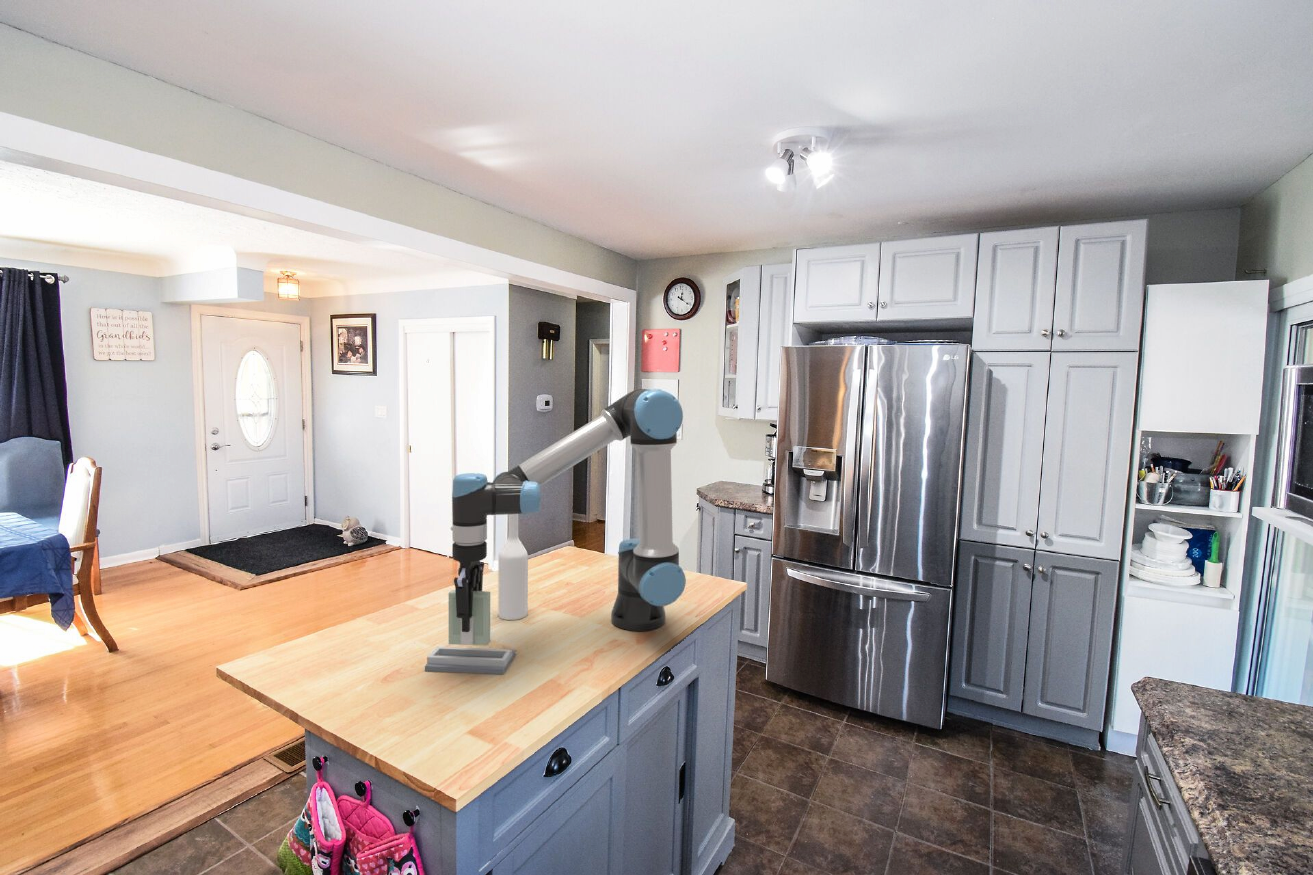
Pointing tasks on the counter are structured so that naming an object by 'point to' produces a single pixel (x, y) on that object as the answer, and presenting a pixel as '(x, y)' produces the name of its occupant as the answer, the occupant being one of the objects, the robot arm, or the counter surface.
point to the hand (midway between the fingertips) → (469, 640)
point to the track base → (469, 660)
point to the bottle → (513, 575)
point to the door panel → (480, 618)
